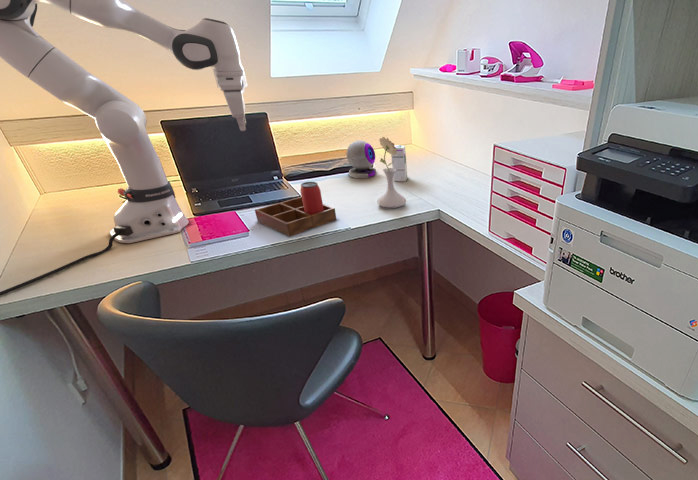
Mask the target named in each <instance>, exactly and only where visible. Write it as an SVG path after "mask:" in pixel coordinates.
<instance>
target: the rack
mask: <svg viewBox="0 0 698 480" xmlns="http://www.w3.org/2000/svg"><path fill="white" fill-rule="evenodd" d="M323 208H324V211H322V212H319V213H316V214H313V215H310V214H308V213H305V211H304V206H303V201H302V196H301V195H300V196H297V197H295V198H291V199H288V200H285V201H281V202H277V203H274V204H270V205H266V206H264V207H260V208H257V209H254V213H255V216H256V220H257V222H258V223H259V224H261V225H264V226H266V227H268V228H269V229H271V230H274V231H276V232H278V233H280V234H283V235H284V236H287V237H290V238H291V237H293V236H295V235H299V234H301V233H304V232H307V231H310V230H312V229H315V228H319V227H321V226H324V225H327V224H329V223H332V222H335V221H337V214H336V208H335V207H333V206H330V205H327V204H324V203H323Z"/></svg>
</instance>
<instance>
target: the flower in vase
mask: <svg viewBox="0 0 698 480" xmlns="http://www.w3.org/2000/svg"><path fill="white" fill-rule="evenodd" d="M378 140H379V144H380V146H381V147H382V149H383V150H384V155H383V158H382V157H380V160H379V162H380V163H382V164H383V165H385V166H386V168H383V169H382V171H383V173H384V175H385V177H386V181H387V189H386V191H384V192H383V193H382V194H381V195H380V196H379V197H378V198H377V205H379V206H380V207H383V208H387V209H394V208H395V209H396V208H400V207H402V206H405V204H406V203H407V199H406V197H405V196H404V195H403V194H401V193H400V192H398V191H397V190H396V189H395V185H394V180H393V177H394V173H395V171H396V169H393V168H392V167H389V166H390V165H391V166H392V163H393V162H394V161H393V162H392V161H391V162H390V163H389V164H387V162H386V154H387V153H388V154H389V155H396V154H397V153H396V152H397V149H396V147H395V146H394V145H395V143H394V142H392V140H390V139H389V137H385V136H382V137H380V138H379V139H378Z"/></svg>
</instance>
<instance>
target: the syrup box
mask: <svg viewBox="0 0 698 480" xmlns="http://www.w3.org/2000/svg"><path fill="white" fill-rule="evenodd" d="M394 146H395V147H396V149H397V152H396V153H397V154H396V155H391V154H390V155H391V156H390V158H391V163H392V162H393V161H394V162H393V163H392V164H391V168H393V169H396V171H395V173H394V177H393V182H407V179H408V167H407V166H408V165H407V153H406V145H402V144H394Z"/></svg>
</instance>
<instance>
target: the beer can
mask: <svg viewBox="0 0 698 480" xmlns="http://www.w3.org/2000/svg"><path fill="white" fill-rule="evenodd" d="M301 196H302V201H303V206H304V211H305V213H308V214H310V215H313V214H316V213H319V212H322V211H324V208H323V204H324V203H323V198H322V192H321V188H320V186H319V185H318V182H316V181H305V182H302V183H301V184H300V197H301Z"/></svg>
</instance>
